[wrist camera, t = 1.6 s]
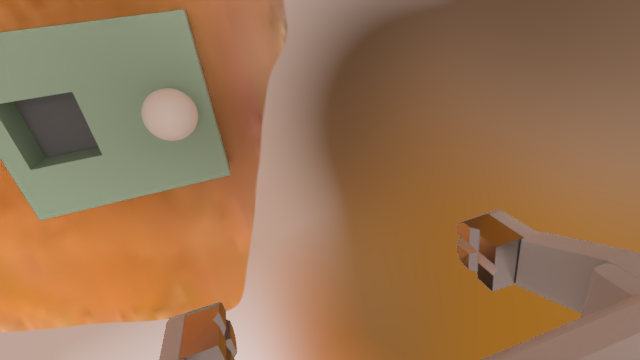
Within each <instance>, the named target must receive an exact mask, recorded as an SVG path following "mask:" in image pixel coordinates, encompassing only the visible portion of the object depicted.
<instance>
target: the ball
mask: <svg viewBox="0 0 640 360" xmlns="http://www.w3.org/2000/svg"><path fill="white" fill-rule="evenodd" d="M141 116H142V120H143V123H144V125H145V127H146V128H147V129H148V130H149V131H150V132H151V133H152V134H153V135H154V136H156V137H158V138H160V139H163V140H167V141H177V140H181V139H184V138H186V137H187V136H189V135H190V134H191V133H192V132H193V131H194V129H195V128H196V125H197V123H198V111H197V108H196V105H195V103H194V102H193V100H192V99H191V98H190V97H189V96H188V95H186V94H185V93H183V92H181V91H179V90H176V89H172V88H162V89H158V90H156V91H154V92H152V93H151V94H149V95H148V96H147V97H146V99H145V100H144V102H143V105H142V108H141Z"/></svg>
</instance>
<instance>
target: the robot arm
mask: <svg viewBox="0 0 640 360" xmlns="http://www.w3.org/2000/svg"><path fill="white" fill-rule="evenodd" d="M457 234H458V235H459V236H460V239H459V240H458V242H457V253H458V255H459V258H460V260H461V261H462V263H463V264H464V265H465V266H466V267H467V268H468V269H469V270H473V271H475V272H477V275H478V279H479V280H481V281H482V282H483V283H484V284H485V285H486V286H487V287H488V288H489V289H490V290H491V291H495V290H498V289H501V288H504V287H507V286H510V285H513V284H515V285H517V286H519V287H521V288H524V289H526V290H528V291H531V292H533V293H535V294H538V295H540V296H542V297H544V298H547V299H549V300H551V301H554V302H556V303H558V304H561V305H563V306H565V307H568V308H570V309H572V310H575V311H577V312H579V313H582V315H581V318H579V319H577V320H574V321H572V322H570V323H567V324H565V325H562V326H560V327H558V328H555V329H553V330H551V331H548V332H546V333H543V334H541V335H539V336H536V337H534V338H531V339H529V340H527V341H524V342H522V343H520V344H517V345H515V346H512V347H510V348H508V349H505V350H503V351H500V352H498V353H496V354H493V355H491V356H489V357H486V358H484V359H482V360H640V254H638V253H636V252H634V251H631V250H625V249H621V248H617V247H612V246H607V245H602V244H598V243H593V242H588V241H584V240H579V239H575V238H570V237H565V236H560V235H555V234H551V233H547V232H540V233H538V232H536V231H535V230H533V229H531V228H530V227H528V226H527V225H525V224H523V223H522V222H520V221H518V220H517V219H515V218H514V217H512V216H510V215H509V214H507V213H505V212H504V211H502V210H495V211H492V212H489V213H486V214H484V215H481V216H478V217H475V218H472V219H470V220H467V221H464V222H461V223H459V224H458V226H457ZM236 353H237V348H236V340H235V334H234V331H233V327H232V325H231V322H230V321H228V320H226V311H225V309H224V306H223V304H222V303H220V302H219V303H216V304H213V305H210V306H206V307H203V308H200V309H197V310H193V311H190V312H187V313H185V314H182V315H178V316H175V317H172V318H169V320H168V322H167V324H166V329H165V334H164V339H163V344H162V349H161V355H160V359H159V360H234V357H235V355H236Z"/></svg>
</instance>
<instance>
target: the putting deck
mask: <svg viewBox="0 0 640 360" xmlns="http://www.w3.org/2000/svg"><path fill="white" fill-rule="evenodd" d="M162 88H172V89H176V90H179V91H181V92H183V93H185V94H186V95H188V96H189V97H190V98H191V99H192V100H193V102H194V103H195V105H196V108H197V111H198V123H197V125H196V128H195V129H194V131H193V132H192V133H191V134H190V135H189V136H187V137H186V138H184V139H181V140H177V141H167V140H163V139H160V138H158V137H156V136H154V135H153V134H152V133H151V132H150V131H149V130H148V129H147V128H146V127H145V125H144V123H143V120H142V116H141V108H142V105H143V102H144V100H145V99H146V97H147V96H148V95H149V94H151V93H152V92H154V91H156V90H158V89H162ZM0 159H1V161H2V162H3V164H4V165H5V167H6V168H7V170H8V172H9V173H10V175H11V176H12V178H13V179H14V181H15V182H16V184H17V186H18V187H19V189H20V190H21V192H22V193H23V195H24V196H25V198H26V200H27V201H28V203H29V204H30V206H31V207H32V209H33V211H34V212H35V214H36V215H37V217H38V218H39V220H44V219H48V218H52V217H56V216H61V215H65V214H69V213H73V212H78V211H82V210H86V209H90V208H94V207H99V206H103V205H107V204H111V203H115V202H120V201H124V200H128V199H132V198H136V197H141V196H145V195H149V194H153V193H158V192H162V191H166V190H170V189H174V188H179V187H183V186H187V185H191V184H195V183H200V182H204V181H208V180H212V179H216V178H221V177H225V176H229V175H230V168H229V162H228V159H227V155H226V151H225V148H224V144H223V141H222V137H221V134H220V130H219V126H218V123H217V119H216V116H215V112H214V108H213V105H212V101H211V98H210V94H209V91H208V87H207V83H206V80H205V76H204V73H203V69H202V66H201V62H200V58H199V55H198V51H197V48H196V44H195V40H194V37H193V33H192V30H191V26H190V23H189V19H188V15H187V12H186V10H184V9H183V10H175V11H167V12H159V13H151V14H143V15H135V16H127V17H119V18H111V19H103V20H95V21H87V22H79V23H71V24H63V25H55V26H47V27H39V28H31V29H23V30H16V31H8V32H0Z"/></svg>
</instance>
